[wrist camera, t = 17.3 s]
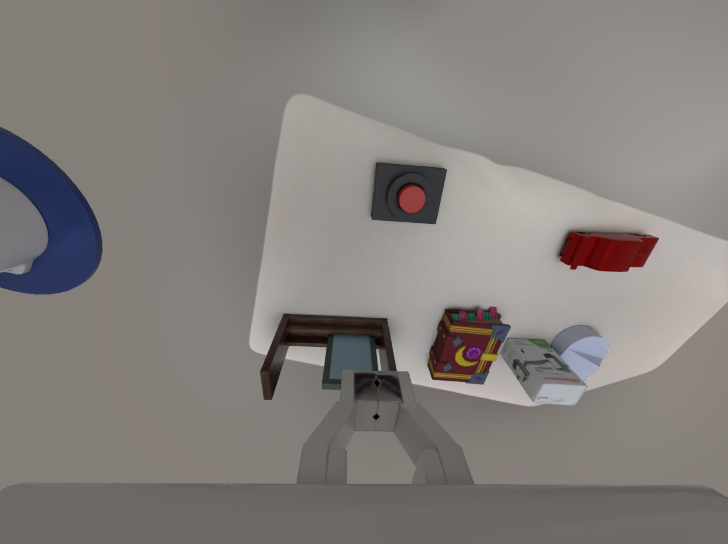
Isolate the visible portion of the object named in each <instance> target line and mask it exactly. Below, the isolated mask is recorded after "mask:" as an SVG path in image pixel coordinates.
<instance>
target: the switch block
mask: <svg viewBox="0 0 728 544" xmlns="http://www.w3.org/2000/svg"><path fill="white" fill-rule="evenodd" d="M446 172H447V169H444V168H436V167H424V166H412V165H401V164H389V163H376V170H375V181H374V192H373V202H372V213H371V217H372V220H384V221H398V222H413V223H427V224H436V220H437V215H438V211H439V206H440V201H441V196H442V191H443V187H444V182H445V177H446ZM409 184H413V185H416V186H418V187H419V188H421V189H422V190H423V191H424V193H425V203H424V206H423V207H422V208H421V209H420V210H419V211H417V212H414V213H408V212H406V211H404V210H403V209H402V208H401V206H400V205H399V203H398V193H399V191H400V190H401V189H402V188H403V187H404V186H406V185H409Z"/></svg>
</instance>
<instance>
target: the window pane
mask: <svg viewBox="0 0 728 544" xmlns="http://www.w3.org/2000/svg"><path fill="white" fill-rule="evenodd" d="M342 369H346V370H353V371H354V370H366V371H378V363H377V354H376V344H375V336H367V335H342V334H328V342H327V349H326V357H325V365H324V372H323V380H322V389H331V390H341V379H342Z"/></svg>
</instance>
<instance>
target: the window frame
mask: <svg viewBox="0 0 728 544" xmlns="http://www.w3.org/2000/svg"><path fill="white" fill-rule="evenodd" d="M328 334H342V335H367V336H375V344H376V349H379V355H380V364H381V371H396V372H397V369H396V364H395V359H394V353H393V348H392V342H391V337H390V332H389V326H388V321H387V319H386V318H362V317H340V316H317V315H295V314H283V317H282V319H281V322H280V324H279V327H278V329H277V331H276V334H275V336H274V339H273V341H272V344H271V346H270V349H269V351H268V354H267V356H266V359H265V361H264V364H263V366H262V368H261V371H260V374H261V382H262V389H263V396H264V400H272V397H273V394H274V391H275V388H276V385H277V381H278V378H279V375H280V372H281V369H282V366H283V362H284V359H285V356H286V353H287V350H288V347H289V346H311V347H327V342H328Z"/></svg>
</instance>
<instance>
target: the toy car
mask: <svg viewBox="0 0 728 544" xmlns="http://www.w3.org/2000/svg"><path fill="white" fill-rule="evenodd" d="M658 240H659V238H657V237H654V236H651V235H646V234H644V235H643V236H642V235H638V234H616V233H589V234H586V233H583V232H572V233H571V235H570V237H569V238H568V237H567V239H566V241H568V242H567V244H566V247H565V249H564V252H563V253H560V254H562V255H560V256H561V259H560V261H561V262H563V263H565V264H567V265H571V268H570V269H576V268H577V266H585V267H588V268H591V269H594V270H598V271H611V272H627V271H628V270H629V268H630V267H643V266H644V264H645V262H646V260H647V259H648V257H649V255H650V254H651V252H652V250H653V248H654V247H655V245H656V243H657V241H658Z"/></svg>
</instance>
